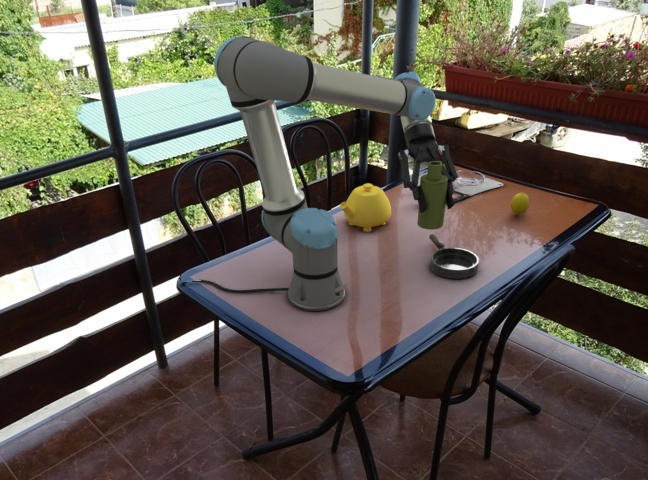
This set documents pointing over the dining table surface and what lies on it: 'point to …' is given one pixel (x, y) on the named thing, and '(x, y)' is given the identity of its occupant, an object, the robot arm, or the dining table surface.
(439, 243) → the pan handle
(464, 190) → the cleaver
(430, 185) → the oil bottle
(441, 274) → the pan
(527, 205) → the lemon
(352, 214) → the teapot
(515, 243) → the dining table surface
